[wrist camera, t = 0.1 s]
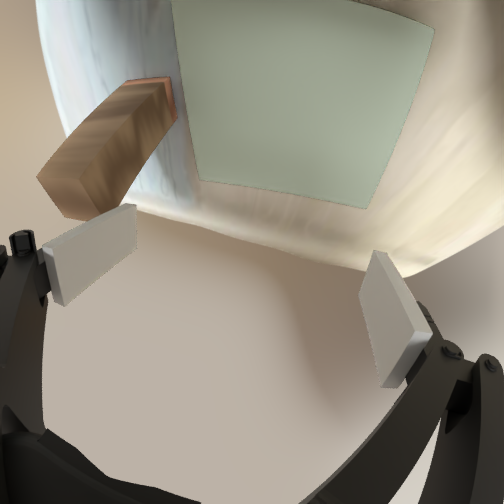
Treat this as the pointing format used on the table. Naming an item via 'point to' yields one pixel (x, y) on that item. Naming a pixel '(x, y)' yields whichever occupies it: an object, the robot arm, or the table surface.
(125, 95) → the walnut block
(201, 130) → the mat
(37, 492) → the robot arm
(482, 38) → the table surface
